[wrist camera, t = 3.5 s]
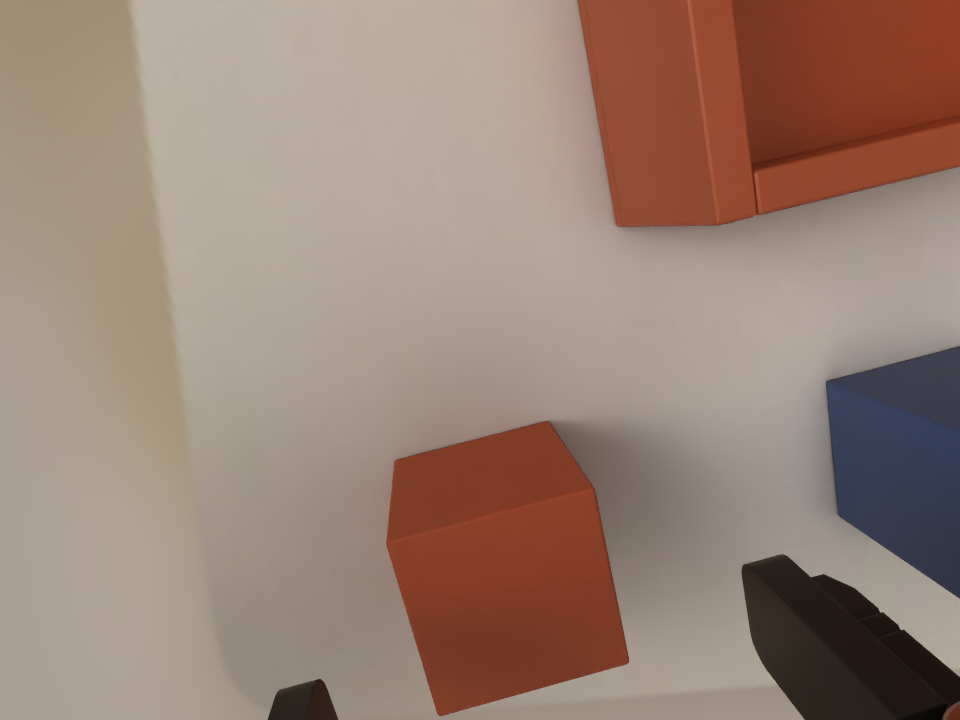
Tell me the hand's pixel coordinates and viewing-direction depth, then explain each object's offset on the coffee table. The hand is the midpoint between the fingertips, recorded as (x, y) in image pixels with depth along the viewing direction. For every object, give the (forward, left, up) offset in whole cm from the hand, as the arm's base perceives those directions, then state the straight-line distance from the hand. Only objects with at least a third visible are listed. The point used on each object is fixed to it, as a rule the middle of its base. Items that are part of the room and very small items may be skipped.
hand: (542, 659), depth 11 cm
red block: (0, 0, -7) cm, 7 cm away
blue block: (+13, -1, -7) cm, 14 cm away
